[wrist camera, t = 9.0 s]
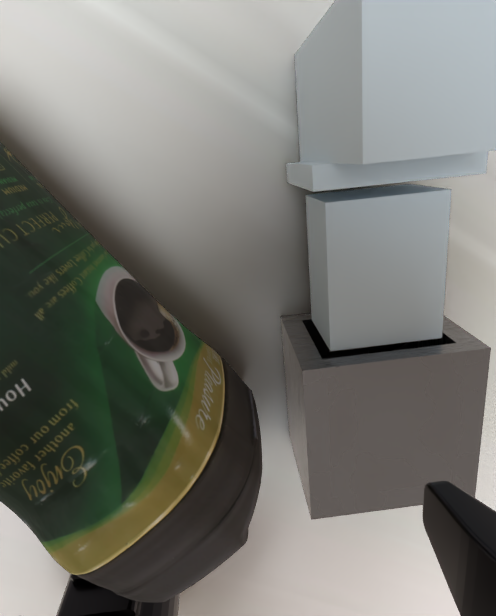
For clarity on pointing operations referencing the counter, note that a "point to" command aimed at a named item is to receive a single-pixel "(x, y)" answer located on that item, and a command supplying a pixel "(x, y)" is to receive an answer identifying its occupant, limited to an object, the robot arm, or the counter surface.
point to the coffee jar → (113, 412)
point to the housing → (382, 417)
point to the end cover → (389, 157)
